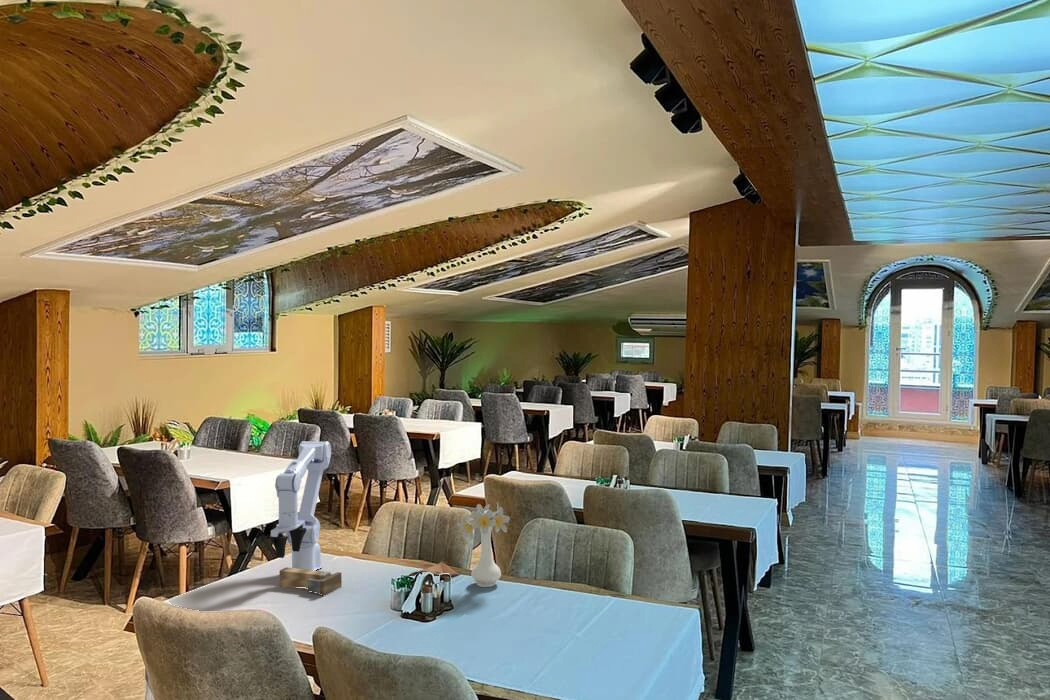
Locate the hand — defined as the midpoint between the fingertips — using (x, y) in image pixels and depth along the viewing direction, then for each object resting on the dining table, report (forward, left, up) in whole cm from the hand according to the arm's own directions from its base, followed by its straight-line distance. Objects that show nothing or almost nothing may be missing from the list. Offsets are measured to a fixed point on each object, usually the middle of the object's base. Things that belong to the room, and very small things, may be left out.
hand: (288, 554), depth 256 cm
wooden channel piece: (+1, +13, -9) cm, 16 cm away
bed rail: (+1, +7, -9) cm, 12 cm away
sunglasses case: (-21, +40, -10) cm, 47 cm away
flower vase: (-22, +58, -10) cm, 63 cm away
